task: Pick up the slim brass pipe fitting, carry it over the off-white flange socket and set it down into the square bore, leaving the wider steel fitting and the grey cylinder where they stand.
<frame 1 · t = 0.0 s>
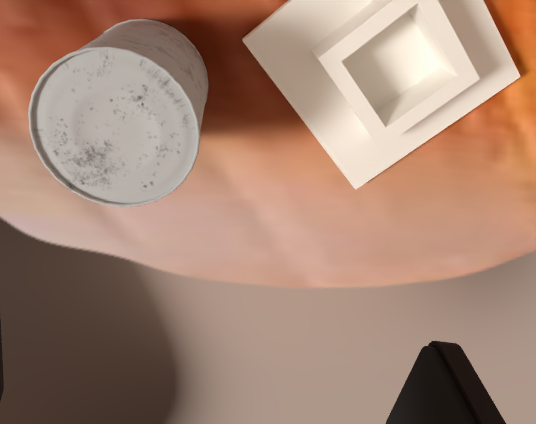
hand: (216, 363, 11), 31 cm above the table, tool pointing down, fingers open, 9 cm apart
flange socket: (382, 56, 38), on the table
grey cylinder: (148, 82, 38), on the table
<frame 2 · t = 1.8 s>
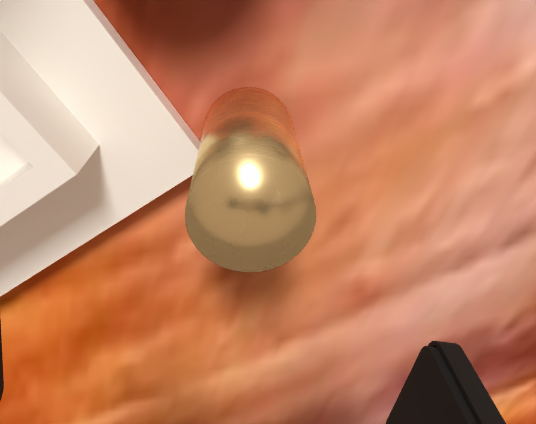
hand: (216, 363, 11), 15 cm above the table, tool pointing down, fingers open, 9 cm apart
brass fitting: (248, 131, 24), on the table
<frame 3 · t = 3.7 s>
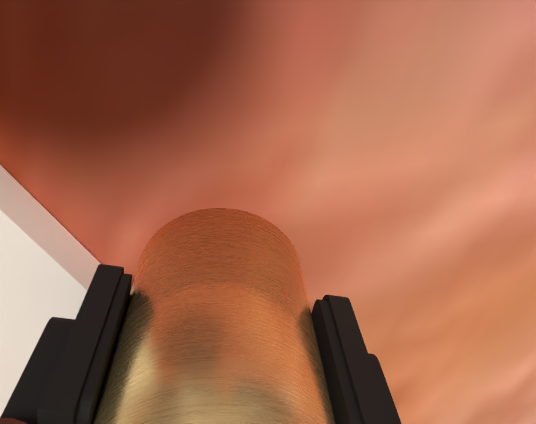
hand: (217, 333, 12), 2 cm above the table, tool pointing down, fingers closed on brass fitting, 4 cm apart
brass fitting: (220, 279, 13), on the table, touching gripper
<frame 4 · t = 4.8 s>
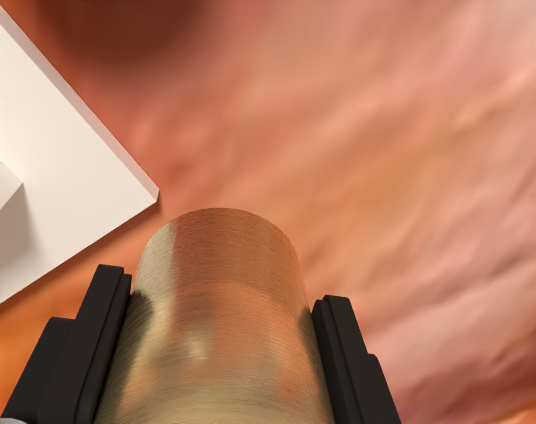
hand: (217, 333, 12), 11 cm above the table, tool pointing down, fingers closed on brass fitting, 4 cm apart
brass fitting: (220, 279, 13), point 9 cm above the table, touching gripper
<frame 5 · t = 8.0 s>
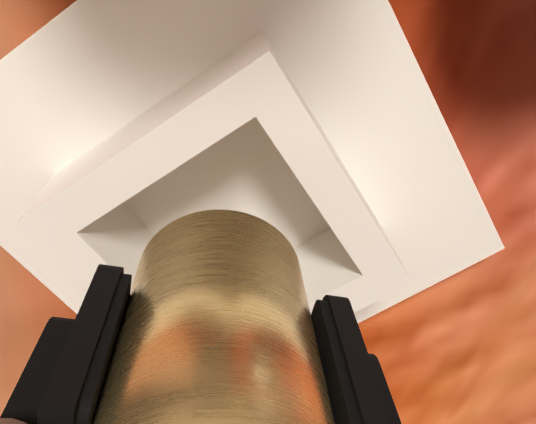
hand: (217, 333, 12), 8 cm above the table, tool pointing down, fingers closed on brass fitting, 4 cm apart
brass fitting: (220, 280, 13), point 6 cm above the table, touching gripper
flange socket: (228, 188, 19), on the table
when the fingers open (6 cm above the table, at t = 8.8 s): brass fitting drops 3 cm, resting on flange socket.
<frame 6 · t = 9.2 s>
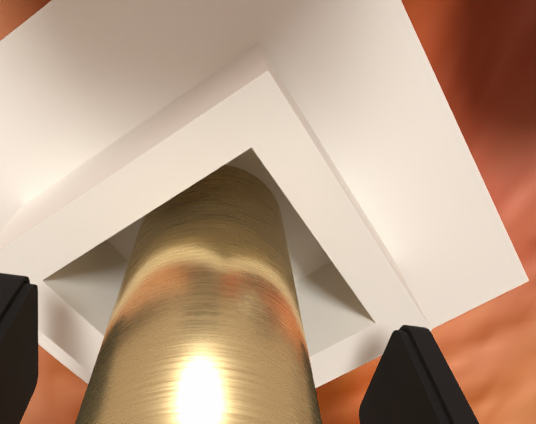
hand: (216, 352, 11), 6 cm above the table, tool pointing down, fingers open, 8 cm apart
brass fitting: (214, 226, 15), point 1 cm above the table, touching flange socket
flange socket: (221, 216, 17), on the table
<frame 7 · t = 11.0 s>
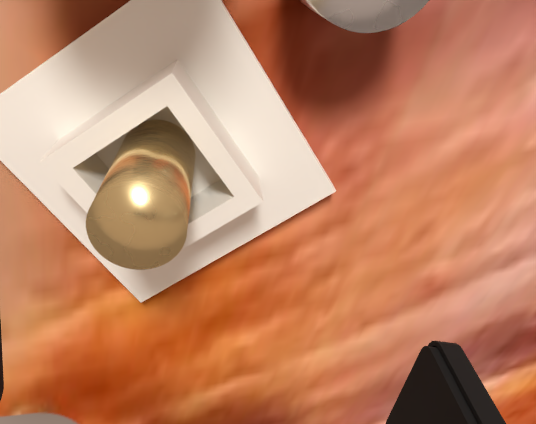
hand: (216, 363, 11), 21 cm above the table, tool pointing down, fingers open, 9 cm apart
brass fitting: (159, 154, 29), point 1 cm above the table, touching flange socket
flange socket: (164, 151, 30), on the table
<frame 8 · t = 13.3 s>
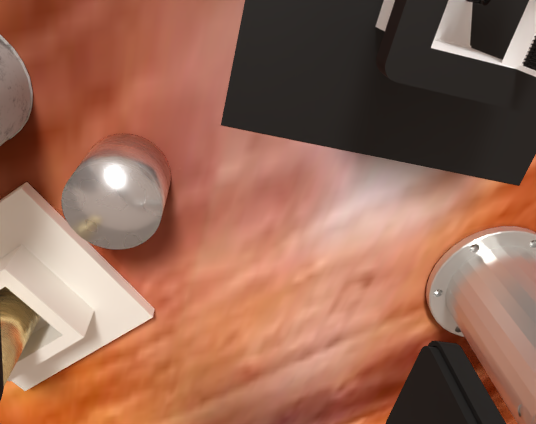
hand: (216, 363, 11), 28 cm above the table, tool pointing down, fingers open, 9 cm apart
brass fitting: (20, 299, 42), point 1 cm above the table, touching flange socket
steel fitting: (128, 173, 39), on the table
flange socket: (28, 293, 43), on the table
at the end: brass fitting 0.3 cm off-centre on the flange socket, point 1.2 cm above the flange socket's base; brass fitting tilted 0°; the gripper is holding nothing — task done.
